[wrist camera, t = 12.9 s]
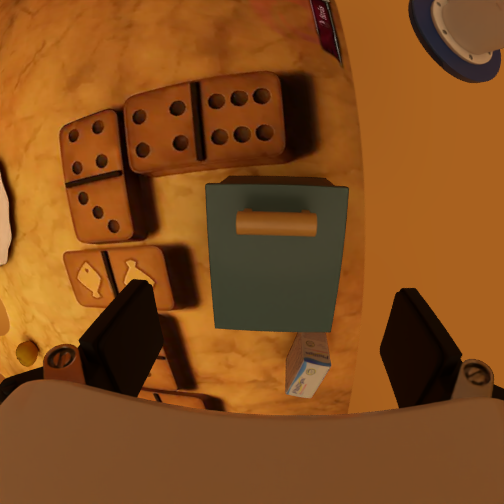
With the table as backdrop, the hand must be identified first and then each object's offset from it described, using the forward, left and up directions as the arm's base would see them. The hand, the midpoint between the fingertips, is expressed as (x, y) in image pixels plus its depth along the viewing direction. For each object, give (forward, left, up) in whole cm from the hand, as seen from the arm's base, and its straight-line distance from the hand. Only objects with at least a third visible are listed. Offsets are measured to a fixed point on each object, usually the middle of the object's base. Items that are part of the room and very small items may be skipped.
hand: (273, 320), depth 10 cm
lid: (+5, 0, -16) cm, 17 cm away
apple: (+39, -63, -28) cm, 80 cm away
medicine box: (+26, +6, -28) cm, 39 cm away
